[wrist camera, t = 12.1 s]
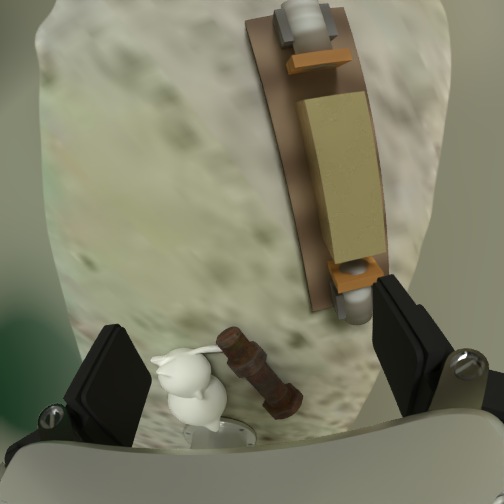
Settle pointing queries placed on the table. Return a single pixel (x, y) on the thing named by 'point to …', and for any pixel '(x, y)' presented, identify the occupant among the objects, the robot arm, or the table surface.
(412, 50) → the table surface
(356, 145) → the tan rectangular block
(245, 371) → the bolt
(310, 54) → the shaft base
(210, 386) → the cat figurine
